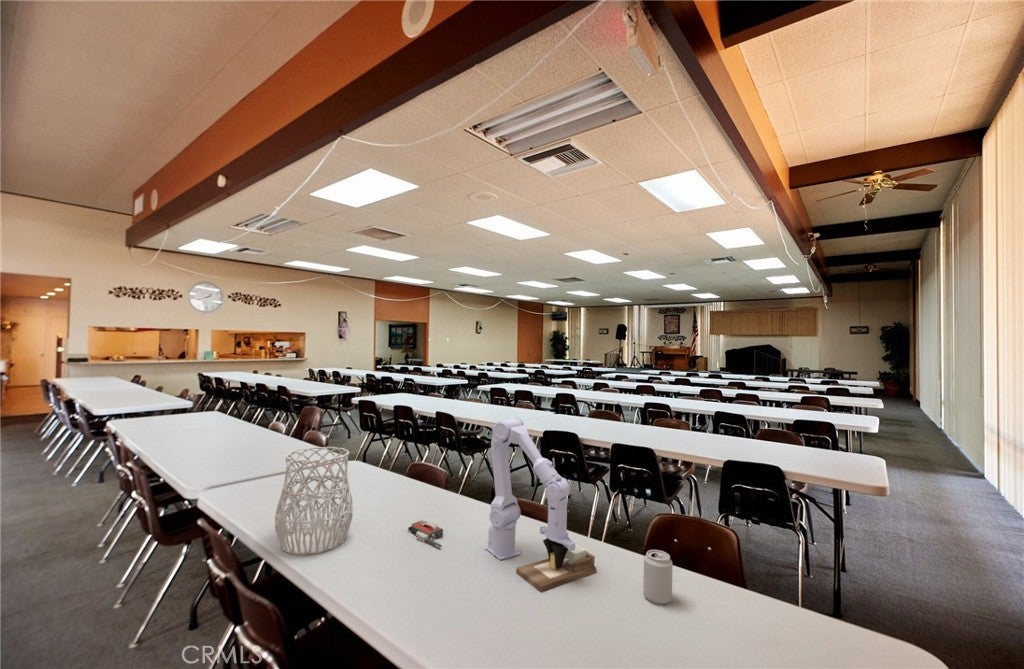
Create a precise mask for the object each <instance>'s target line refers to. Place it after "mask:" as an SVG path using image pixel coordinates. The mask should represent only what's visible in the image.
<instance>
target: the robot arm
mask: <svg viewBox="0 0 1024 669" xmlns="http://www.w3.org/2000/svg"><path fill="white" fill-rule="evenodd" d="M491 430H492V432H491V433H492V435H491V437H492V438H491V441H490V446H491V447H490V450H491V458H492V459H491V460H492V469H493V480H494V482H493V483H494V492H495V497H494V499H493V500H492V501H491V503H490V513H489V521H490V525H489V527H488V537H487V538H488V542H487V546H485V550H487V551H488V552H489V553H491V555H493V556H494V557H496V558H498V560H501V561H502V560H505V559H509V558H512V557H516V556H519V555H521V552H520V551H519V550H517V549H516V529H517V527H516V526H517V521H518V520H519V519H520V518H521V508H520V506H519V504H518V498H517V497H516V496H514V495H513V490H512V481H511V480H512V479H511V469H510V460H509V458H510V457H509V448H508V447H509V446H510V444H516V445H519V447H520V448H521V449H522V451H523V452H524V453H525V455H526V456H527V458H529V460H530V461H531V462H532V464H533V467H532V470H533V472H534V474H535V475H536V476H537V477H538V479H539V481H540V482H541V484H542V485H543V487H544V488H545V489H544V495H545V497H546V499H547V507H548V508H547V526H546V525H543V526H539V534H541V535H544V536H545V537H546V538H545V539H543V542H542V543H543V544H544V546H545V549H546V551H547V556H548V558H549V561H550V553H553V552H554V556H555V567H556V568H557V569H558V568H561V567H562V565H563V561H564V558H565V555H566V553H567V551H568V550H569V551H573V550H575V544H576V543H575V542H574V541H573V539H571V538H570V537H569V532H567V524H568V522H567V521H568V518H567V517H568V512H567V511H568V496H570V494H571V491H572V488H571V484H570V482H569V480H568V479H566V478H565V477H562V476H561V475H560V474H559V473H558V471H557V470H556V469H555V467H554V466H553V462H552V461H551V460H549V459H548V458H545V457H543V456H542V455H541V453H540V451H539V450H538V448H537V446H536V444H535V443H534V441H533V440H532V438H531V436H530V434H529V432H528V427H527V426H526V425H525V423H524V421H523V420H522V419H521V418H519V417H514V418H511V419H505V420H502V419H501V420H498V421H496V423H495V424H494V425H493V426H492V428H491Z"/></svg>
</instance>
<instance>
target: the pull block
mask: <svg viewBox="0 0 1024 669" xmlns="http://www.w3.org/2000/svg"><path fill="white" fill-rule="evenodd" d="M587 552H588V550H587V549H586V548H583V547H582V546H580V545H578V544H577V543H575V550H573V551H569V550H568V551H567V553H566V555H565V558H564V561H563V563H564V562H567V563H568V564H570V565H572V563H573V562H576V561H579V560H582V559H585V558H586V557H587ZM550 567H551V568H553V569H554V570H555V569H557V568H556V567H555V556H554V552H553V553H550Z"/></svg>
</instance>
